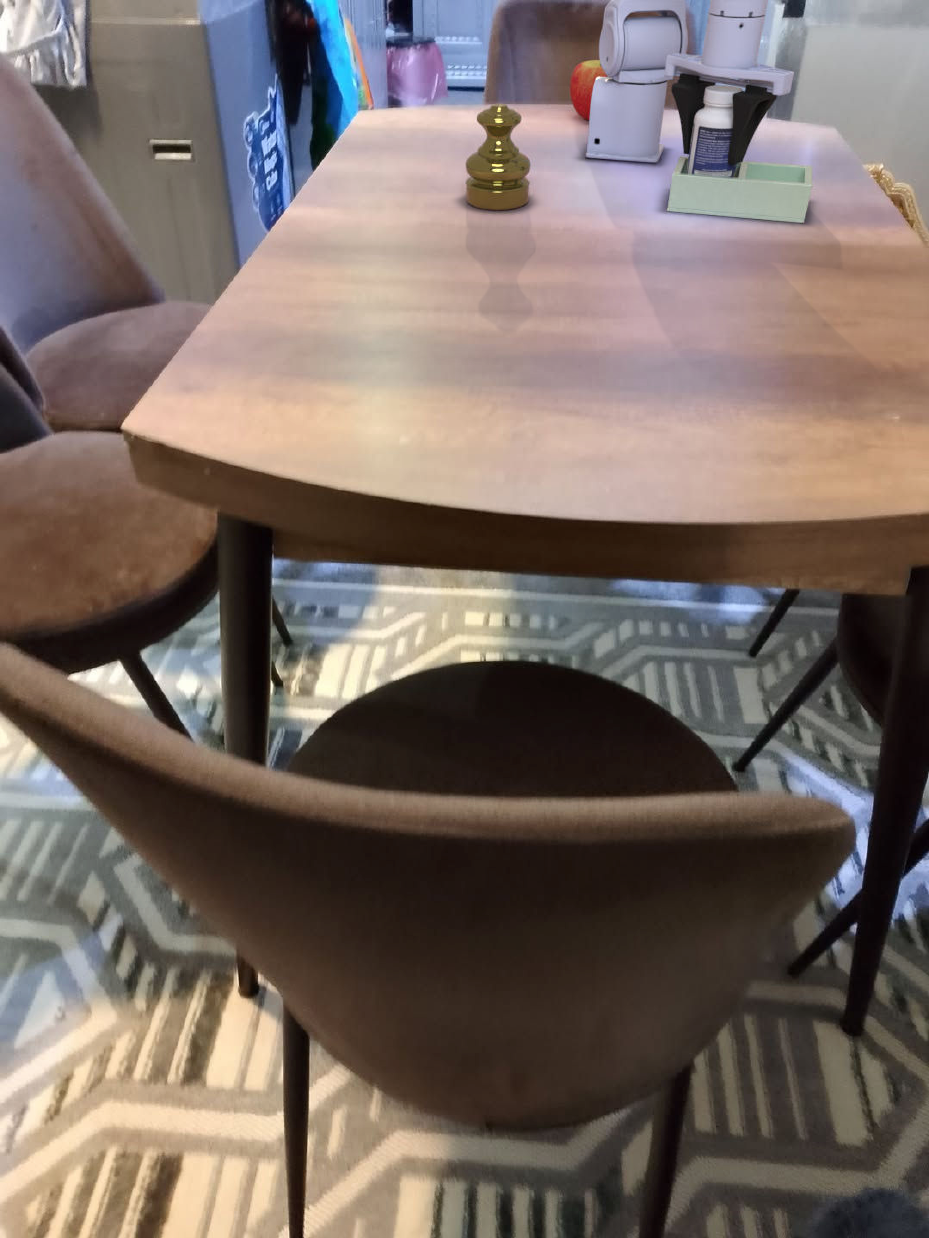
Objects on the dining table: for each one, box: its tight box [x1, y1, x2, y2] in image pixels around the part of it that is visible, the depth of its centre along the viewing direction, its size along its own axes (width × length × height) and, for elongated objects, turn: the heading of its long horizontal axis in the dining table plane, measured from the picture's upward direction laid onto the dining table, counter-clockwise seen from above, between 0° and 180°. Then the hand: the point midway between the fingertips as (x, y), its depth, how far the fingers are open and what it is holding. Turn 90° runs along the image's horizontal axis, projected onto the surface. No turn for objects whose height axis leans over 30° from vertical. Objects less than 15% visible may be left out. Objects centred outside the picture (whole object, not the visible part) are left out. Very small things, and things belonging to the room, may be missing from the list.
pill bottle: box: [686, 84, 744, 177], centre depth 101 cm, size 5×5×10 cm
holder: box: [666, 155, 813, 224], centre depth 104 cm, size 8×15×4 cm, turn 74°
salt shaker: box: [465, 103, 531, 211], centre depth 103 cm, size 7×7×10 cm
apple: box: [569, 59, 608, 121], centre depth 133 cm, size 8×8×10 cm
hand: (712, 157), depth 102 cm, fingers closed on pill bottle, 5 cm apart
